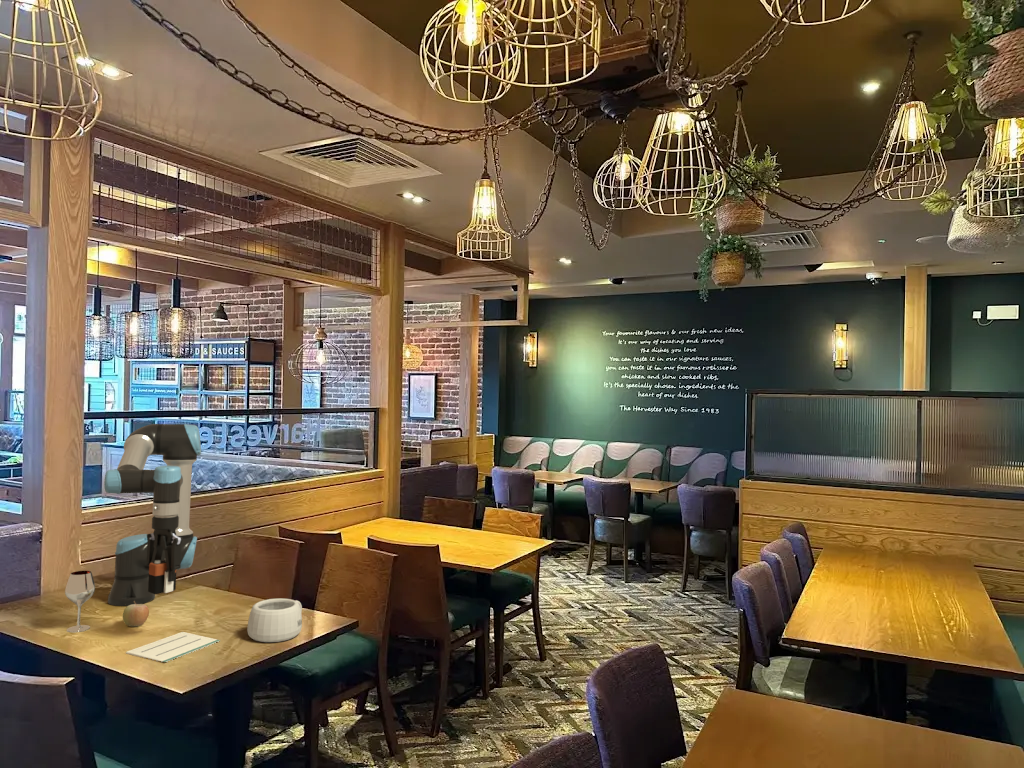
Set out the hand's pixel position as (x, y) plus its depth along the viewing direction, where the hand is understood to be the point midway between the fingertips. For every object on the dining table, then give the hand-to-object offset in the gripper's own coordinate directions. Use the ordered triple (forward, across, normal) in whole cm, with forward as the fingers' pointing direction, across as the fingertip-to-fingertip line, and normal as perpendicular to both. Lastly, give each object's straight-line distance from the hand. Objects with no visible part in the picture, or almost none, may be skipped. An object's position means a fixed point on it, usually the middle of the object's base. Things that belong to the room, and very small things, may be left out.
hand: (162, 590), depth 214 cm
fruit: (+15, -18, +4) cm, 24 cm away
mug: (+15, +27, +23) cm, 39 cm away
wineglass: (+15, -29, -7) cm, 34 cm away
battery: (+1, 0, 0) cm, 1 cm away
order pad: (+15, +10, -2) cm, 18 cm away
